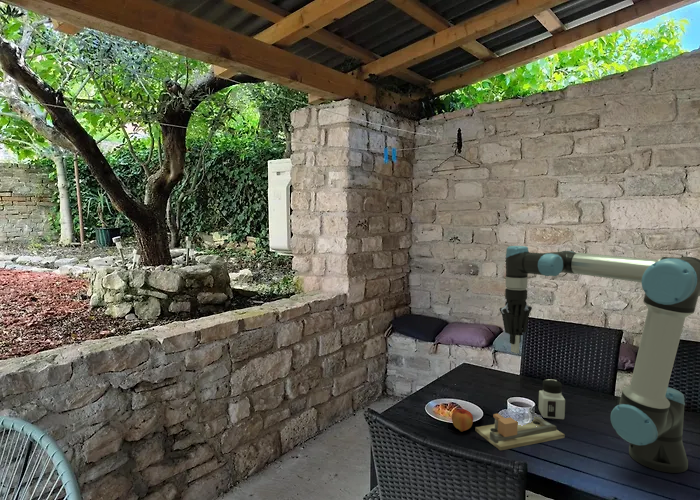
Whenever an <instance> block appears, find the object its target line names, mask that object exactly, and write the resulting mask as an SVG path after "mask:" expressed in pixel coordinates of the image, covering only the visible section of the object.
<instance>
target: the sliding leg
mask: <svg viewBox="0 0 700 500" xmlns="http://www.w3.org/2000/svg"><path fill="white" fill-rule="evenodd" d="M492 415H493V416H492V417H493V418H494V424H495V429H498V433H500V434H501V435H503V436H504V437H508V436H513V435H517V427H518V422H517V421H515V420H516V419H514V418H512V417H511V416H510V417H504V416H502V415H500V413H493V414H492Z"/></svg>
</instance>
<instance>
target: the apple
mask: <svg viewBox="0 0 700 500" xmlns="http://www.w3.org/2000/svg"><path fill="white" fill-rule="evenodd" d="M461 407H462V406H459V408H460V409H456V410H453V412H452V413H451V414H452V415H451V422H452V424H453V426H454V428H456V429H457V430H459V431H460V432H465V431H468V430H469V429H471V428H472V426H473V424H474V416H473V413H471V412H470V411H469V410H467V409H466V408H461Z"/></svg>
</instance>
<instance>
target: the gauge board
mask: <svg viewBox="0 0 700 500" xmlns="http://www.w3.org/2000/svg"><path fill="white" fill-rule="evenodd" d="M533 417H534V420H533V421H532V422H531V423H528V424H526V425H523V426H521V425H518V427H517V435H513V436H508V437H504V436H503V435H501V434H500V433H498V429H495V423H493V424H487V425H481V426H475V427H474V428H475V432H476V433H477V434H479V435H480V436H481V437H482V438H484V439H485V440H486V441H487V442H489V443H490V444H491V445H493V446H494V447H495V448H496V449H498V450H499V451H505V450H511V449H514V448H519V447H525V446H530V445H534V444H539V443H546V442H550V441H555V440H560V439H561V440H562V439H565V438H566V437H565V436H566V435H565V433H563V432H562V431H559V430H558V429H557V425H555V424H552V423H550V422H549V421H547V420H545V419H543V417H540V416H533ZM536 426H537V427H536Z"/></svg>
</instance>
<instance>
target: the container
mask: <svg viewBox="0 0 700 500" xmlns="http://www.w3.org/2000/svg"><path fill="white" fill-rule="evenodd" d="M562 387H563V384H562V383H561V382H560V381H558V380H557V379H552V378H551V379H549V378H548V379H544V380H543V381H542V390H539V391H538V410H539V413H540V414H541V416H543V417H542V419H543V418H546V419H552V420H554V419H555V420H565V417H566V416H565V415H566V414H565V413H566V399H565V398H564V396H563V394H562V393H563V392H562Z"/></svg>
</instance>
